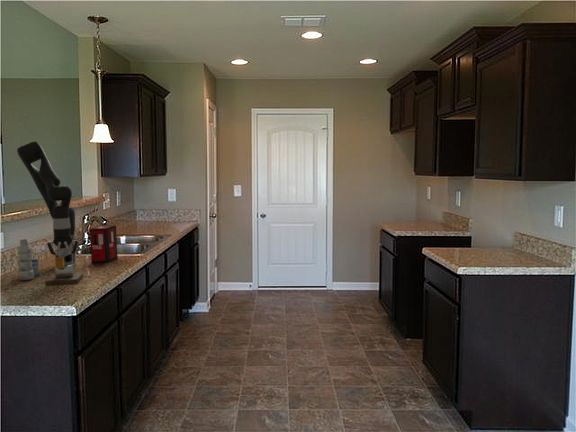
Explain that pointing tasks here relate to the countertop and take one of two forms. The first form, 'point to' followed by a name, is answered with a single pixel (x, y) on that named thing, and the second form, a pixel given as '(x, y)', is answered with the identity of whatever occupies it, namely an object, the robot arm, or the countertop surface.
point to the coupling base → (64, 279)
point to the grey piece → (63, 266)
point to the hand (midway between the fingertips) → (64, 262)
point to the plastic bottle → (25, 260)
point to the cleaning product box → (103, 244)
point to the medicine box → (35, 267)
